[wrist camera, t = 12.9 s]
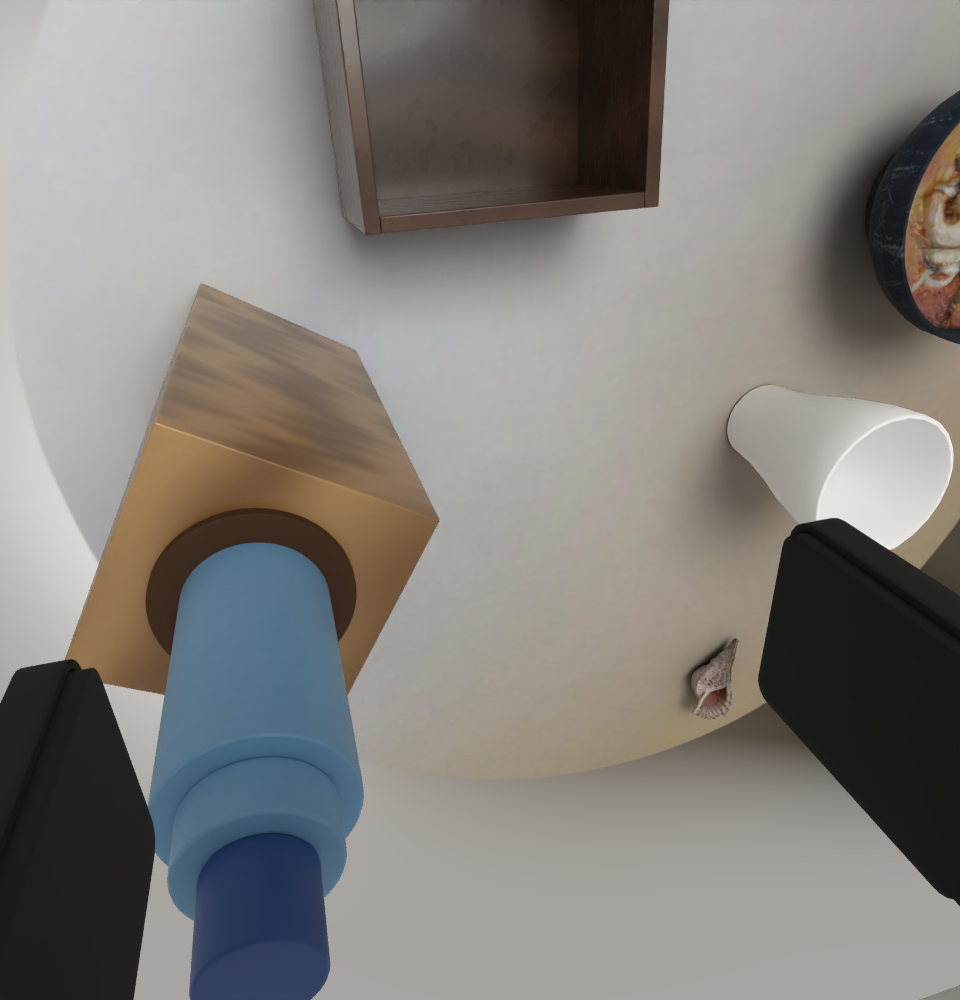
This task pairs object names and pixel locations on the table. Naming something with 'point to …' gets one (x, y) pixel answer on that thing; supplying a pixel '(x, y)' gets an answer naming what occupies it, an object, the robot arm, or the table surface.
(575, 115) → the brown wooden box
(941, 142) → the bowl
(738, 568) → the table surface
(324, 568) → the coaster
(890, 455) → the cup
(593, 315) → the table surface
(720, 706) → the seashell
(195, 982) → the bottle
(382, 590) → the stand
